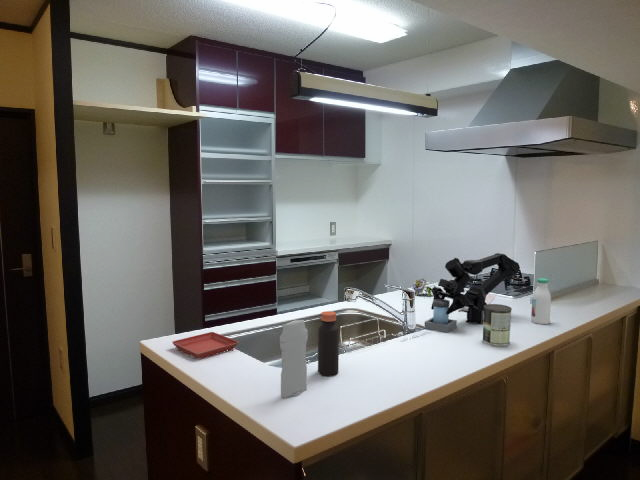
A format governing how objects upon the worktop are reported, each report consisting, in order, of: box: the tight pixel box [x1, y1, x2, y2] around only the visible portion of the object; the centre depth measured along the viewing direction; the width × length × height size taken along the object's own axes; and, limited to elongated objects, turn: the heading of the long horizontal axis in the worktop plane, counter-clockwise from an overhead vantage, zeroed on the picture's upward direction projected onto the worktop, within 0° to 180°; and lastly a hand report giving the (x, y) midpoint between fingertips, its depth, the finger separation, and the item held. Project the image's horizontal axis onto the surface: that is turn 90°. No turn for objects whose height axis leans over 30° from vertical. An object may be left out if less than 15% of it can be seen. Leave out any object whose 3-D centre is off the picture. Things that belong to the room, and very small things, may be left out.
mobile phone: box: [457, 293, 497, 312], centre depth 243 cm, size 6×6×25 cm
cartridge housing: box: [423, 316, 458, 333], centre depth 210 cm, size 10×10×3 cm
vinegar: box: [317, 310, 340, 377], centre depth 157 cm, size 7×7×20 cm
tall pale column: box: [279, 319, 309, 399], centre depth 141 cm, size 11×4×22 cm, turn 135°
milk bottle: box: [530, 277, 552, 325], centre depth 219 cm, size 8×8×20 cm
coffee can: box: [482, 303, 513, 347], centre depth 190 cm, size 10×10×14 cm
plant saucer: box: [172, 331, 239, 359], centre depth 180 cm, size 18×18×3 cm
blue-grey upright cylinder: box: [432, 298, 451, 325], centre depth 209 cm, size 7×7×12 cm
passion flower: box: [410, 277, 436, 297], centre depth 274 cm, size 11×11×12 cm
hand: (439, 311), depth 208 cm, fingers open, 9 cm apart
